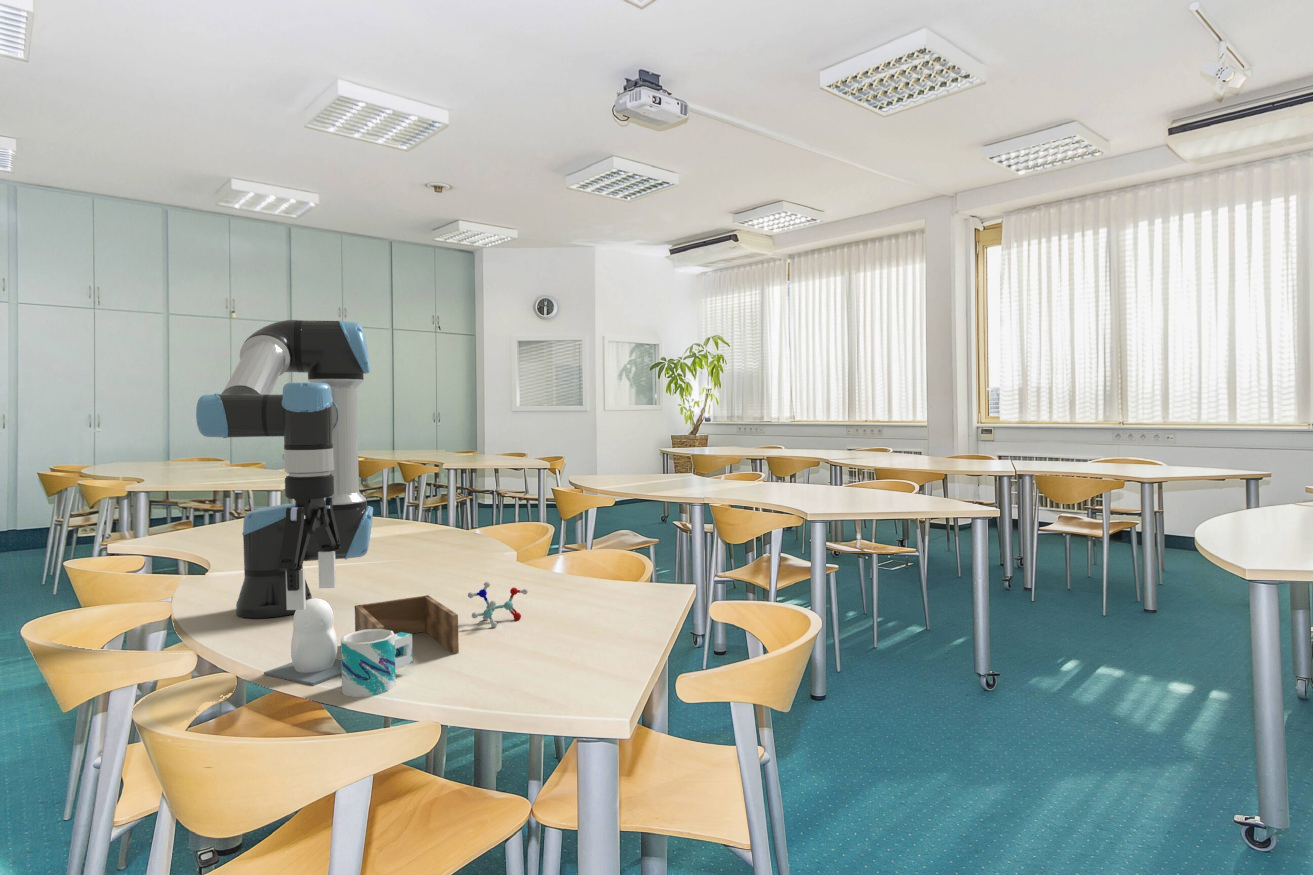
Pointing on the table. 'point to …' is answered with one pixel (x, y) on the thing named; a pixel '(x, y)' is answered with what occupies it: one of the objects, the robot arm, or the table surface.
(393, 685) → the mug
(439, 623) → the walnut box
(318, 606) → the figurine
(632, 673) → the table surface
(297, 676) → the felt mat
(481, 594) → the molecular model
